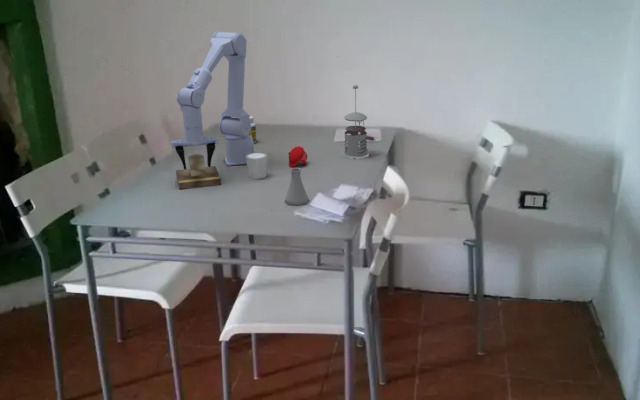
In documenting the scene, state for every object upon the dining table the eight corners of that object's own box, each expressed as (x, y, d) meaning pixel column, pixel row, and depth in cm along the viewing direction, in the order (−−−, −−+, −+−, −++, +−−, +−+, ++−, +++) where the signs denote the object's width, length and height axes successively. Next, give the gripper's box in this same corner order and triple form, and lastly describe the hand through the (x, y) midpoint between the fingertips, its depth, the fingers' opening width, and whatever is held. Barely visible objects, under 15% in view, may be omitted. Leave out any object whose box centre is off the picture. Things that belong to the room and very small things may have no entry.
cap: (294, 150, 233) (284, 145, 228) (309, 147, 229) (298, 142, 225) (294, 172, 230) (284, 167, 226) (308, 169, 227) (298, 164, 222)
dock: (216, 171, 223) (215, 165, 222) (221, 184, 212) (220, 178, 211) (176, 176, 220) (175, 169, 219) (179, 189, 208) (178, 182, 208)
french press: (337, 157, 235) (336, 87, 225) (349, 148, 244) (348, 80, 235) (364, 160, 231) (364, 88, 222) (374, 150, 241) (375, 81, 232)
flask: (284, 197, 200) (282, 166, 196) (308, 196, 200) (307, 164, 197) (285, 206, 193) (283, 174, 190) (310, 205, 194) (309, 172, 190)
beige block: (203, 170, 218) (202, 153, 216) (205, 176, 213) (204, 158, 211) (189, 172, 217) (187, 154, 215) (191, 178, 212) (189, 160, 210)
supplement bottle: (254, 144, 252) (252, 119, 248) (240, 144, 253) (238, 118, 249) (258, 140, 256) (256, 115, 253) (244, 140, 258) (243, 115, 254)
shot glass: (271, 173, 220) (270, 153, 218) (263, 180, 214) (261, 159, 212) (252, 171, 223) (251, 151, 220) (243, 178, 217) (242, 157, 214)
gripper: (170, 131, 204) (175, 173, 209) (218, 127, 207) (221, 168, 212) (169, 125, 210) (173, 166, 215) (215, 121, 214) (218, 162, 219)
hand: (197, 167), depth 214 cm, fingers open, 7 cm apart
